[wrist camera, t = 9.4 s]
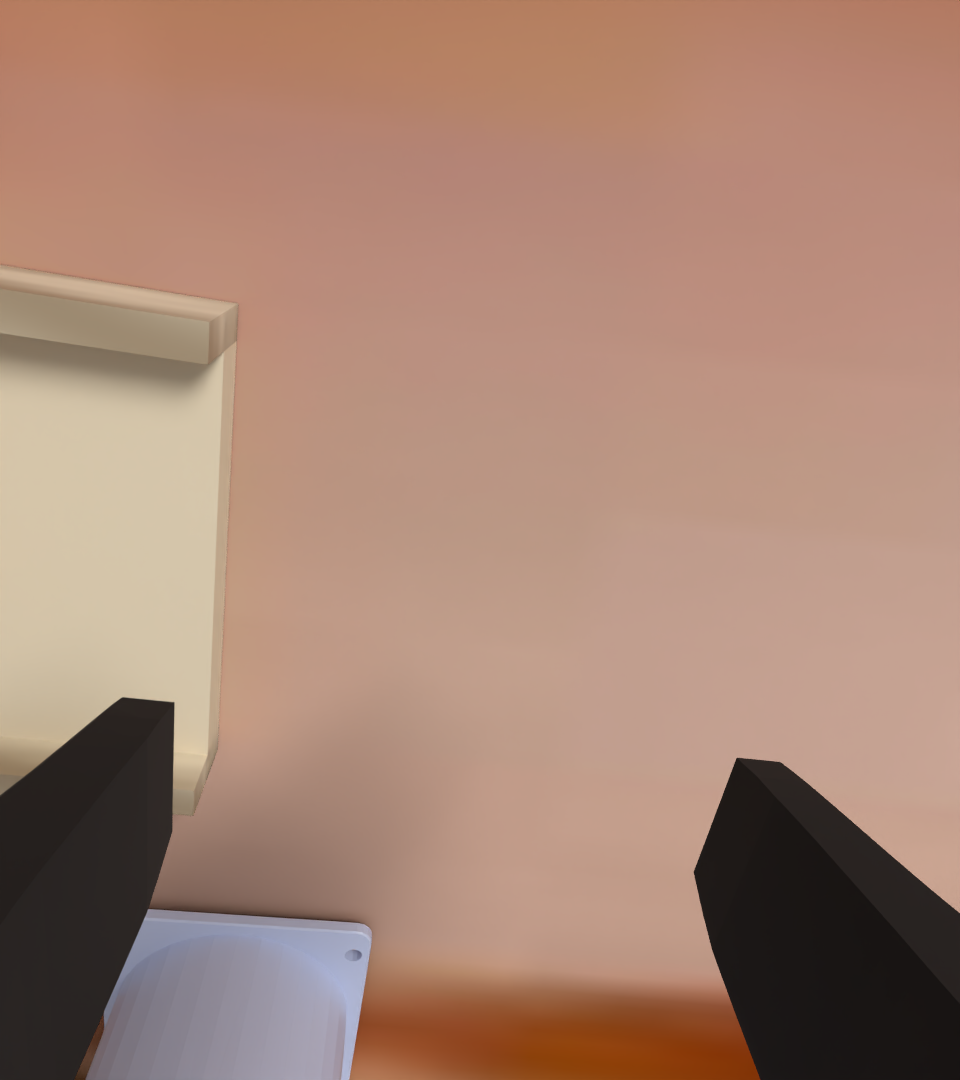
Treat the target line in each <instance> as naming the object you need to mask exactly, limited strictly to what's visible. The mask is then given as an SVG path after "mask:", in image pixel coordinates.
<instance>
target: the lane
mask: <svg viewBox="0 0 960 1080" xmlns="http://www.w3.org/2000/svg"><path fill="white" fill-rule="evenodd" d="M236 343H237V341H236V342H235V343H234V344H232V345H231V346H230V347H229V348H228V349H226V350H225V351H224V352H223V353H222V354H220V355H219V356H218V357H217V358H216V359H214V360H213V361H212V362H211V363H210V364H208V365H206V364H200V363H193V362H186V361H180V360H173V359H167V358H160V357H154V356H147V355H141V354H134V353H128V352H121V351H114V350H108V349H101V348H95V347H88V346H82V345H75V344H69V343H62V342H55V341H49V340H42V339H36V338H29V337H23V336H16V335H10V334H3V333H0V736H2V737H13V738H24V739H35V740H46V741H57V742H67V741H68V740H70V739H71V738H72V737H73V736H74V735H76V734H77V733H78V732H79V731H80V730H82V729H83V728H84V727H85V726H86V725H88V724H89V723H90V722H91V721H92V720H94V719H95V718H96V717H97V716H98V715H100V714H101V713H102V712H103V711H105V710H106V709H107V708H108V707H110V706H111V705H112V704H113V703H115V702H116V701H118V700H119V699H120V698H122V697H126V698H136V699H146V700H156V701H167V702H175V709H174V752H178V753H189V754H200V755H208V757H207V775H208V772H209V770H210V768H211V764H212V763H213V760H214V756H215V755H216V752H217V750H218V730H219V708H220V687H221V665H222V644H223V622H224V601H225V580H226V558H227V537H228V515H229V494H230V472H231V451H232V429H233V408H234V386H235V365H236ZM208 753H209V754H208Z"/></svg>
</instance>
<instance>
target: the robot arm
mask: <svg viewBox="0 0 960 1080" xmlns="http://www.w3.org/2000/svg"><path fill="white" fill-rule="evenodd" d="M174 709H175V702H167V701H156V700H146V699H136V698H126V697H122V698H120V699H119V700H118V701H116V702H115V703H113V704H112V705H111V706H110V707H108V708H107V709H106V710H105V711H103V712H102V713H101V714H100V715H98V716H97V717H96V718H95V719H94V720H92V721H91V722H90V723H89V724H88V725H86V726H85V727H84V728H83V729H82V730H80V731H79V732H78V733H77V734H76V735H74V736H73V737H72V738H71V739H70V740H68V741H67V742H66V743H65V744H64V745H62V746H61V747H60V748H59V749H57V750H56V751H55V752H54V753H53V754H51V755H50V756H49V757H48V758H46V759H45V760H44V761H43V762H42V763H40V764H39V765H38V766H37V767H35V768H34V769H33V770H32V771H30V772H29V773H28V774H27V775H25V776H24V777H23V778H21V779H20V780H19V781H18V782H16V783H15V784H14V785H12V786H11V787H10V788H9V789H7V790H6V791H5V792H4V793H2V794H1V795H0V1080H74V1079H75V1076H76V1074H77V1072H78V1070H79V1067H80V1065H81V1063H82V1060H83V1058H84V1056H85V1054H86V1051H87V1049H88V1047H89V1044H90V1042H91V1040H92V1038H93V1035H94V1033H95V1031H96V1029H97V1026H98V1024H99V1022H100V1020H101V1017H102V1015H103V1013H104V1032H103V1034H102V1037H101V1040H100V1042H99V1045H98V1048H97V1050H96V1053H95V1055H94V1058H93V1061H92V1063H91V1066H90V1069H89V1071H88V1074H87V1077H86V1079H85V1080H349V1077H350V1071H351V1065H352V1059H353V1053H354V1047H355V1041H356V1035H357V1028H358V1022H359V1016H360V1010H361V1004H362V998H363V992H364V986H365V980H366V973H367V967H368V961H369V955H370V949H371V942H372V932H371V930H370V928H369V927H367V926H366V925H364V924H361V923H353V922H338V921H323V920H308V919H293V918H277V917H262V916H247V915H232V914H217V913H202V912H186V911H171V910H156V909H148V908H149V905H150V902H151V898H152V895H153V892H154V889H155V886H156V883H157V880H158V876H159V873H160V870H161V867H162V863H163V860H164V857H165V853H166V850H167V847H168V843H169V840H170V837H171V834H172V815H173V762H174ZM694 875H695V880H696V884H697V889H698V893H699V898H700V902H701V907H702V911H703V916H704V920H705V923H706V927H707V931H708V935H709V939H710V943H711V947H712V950H713V953H714V956H715V959H716V962H717V964H718V967H719V970H720V973H721V976H722V978H723V981H724V984H725V986H726V989H727V992H728V994H729V997H730V1000H731V1003H732V1005H733V1008H734V1011H735V1013H736V1016H737V1019H738V1021H739V1024H740V1027H741V1029H742V1032H743V1035H744V1037H745V1040H746V1042H747V1045H748V1048H749V1050H750V1053H751V1056H752V1058H753V1061H754V1063H755V1066H756V1069H757V1071H758V1074H759V1077H760V1079H761V1080H960V913H959V912H957V911H956V910H955V909H954V908H953V907H951V906H950V905H949V904H948V903H946V902H945V901H944V900H943V899H942V898H940V897H939V896H938V895H937V894H936V893H934V892H933V891H932V890H931V889H930V888H928V887H927V886H926V885H925V884H924V883H923V882H921V881H920V880H919V879H918V878H917V877H915V876H914V875H913V874H912V873H911V872H910V871H908V870H907V869H906V868H905V867H904V866H903V865H901V864H900V863H899V862H898V861H897V860H896V859H894V858H893V857H892V856H891V855H890V854H889V853H887V852H886V851H885V850H884V849H883V848H882V847H881V846H879V845H878V844H877V843H876V842H875V841H874V840H872V839H871V838H870V837H869V836H868V835H867V834H866V833H864V832H863V831H862V830H861V829H860V828H859V827H858V826H856V825H855V824H854V823H853V822H852V821H851V820H849V819H848V818H847V817H846V816H845V815H844V814H843V813H841V812H840V811H839V810H838V809H837V808H836V807H835V806H833V805H832V804H831V803H830V802H829V801H828V800H826V799H825V798H824V797H823V796H822V795H820V794H819V793H818V792H817V791H816V790H815V789H813V788H812V787H811V786H810V785H809V784H807V783H806V782H805V781H804V780H803V779H801V778H800V777H799V776H798V775H796V774H795V773H794V772H792V771H791V770H790V769H789V768H787V767H786V766H785V765H783V764H782V763H781V762H774V761H764V760H754V759H744V758H737V759H736V761H735V764H734V767H733V769H732V772H731V775H730V777H729V780H728V783H727V785H726V788H725V791H724V793H723V796H722V799H721V801H720V804H719V806H718V809H717V812H716V814H715V817H714V820H713V822H712V825H711V828H710V830H709V833H708V836H707V838H706V841H705V844H704V846H703V849H702V852H701V854H700V857H699V860H698V862H697V865H696V868H695V870H694Z"/></svg>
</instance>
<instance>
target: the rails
mask: <svg viewBox="0 0 960 1080" xmlns="http://www.w3.org/2000/svg"><path fill="white" fill-rule="evenodd" d="M237 322H238V303H232V302H226V301H219V300H213V299H207V298H201V297H195V296H189V295H183V294H177V293H170V292H164V291H158V290H152V289H146V288H140V287H134V286H127V285H121V284H115V283H109V282H103V281H97V280H91V279H85V278H78V277H72V276H66V275H60V274H54V273H48V272H42V271H35V270H29V269H23V268H17V267H11V266H5V265H0V333H3V334H10V335H16V336H23V337H29V338H36V339H42V340H49V341H55V342H62V343H69V344H75V345H82V346H88V347H95V348H101V349H108V350H114V351H121V352H128V353H134V354H141V355H147V356H154V357H160V358H167V359H173V360H180V361H186V362H193V363H200V364H206V365H208V364H210V363H211V362H212V361H213V360H214V359H216V358H217V357H218V356H219V355H220V354H222V353H223V352H224V351H225V350H226V349H228V348H229V347H230V346H231V345H232V344H234V343H235V342H236V341H237ZM65 743H66V742H57V741H46V740H35V739H24V738H13V737H2V736H0V795H1V794H2V793H4V792H5V791H6V790H7V789H9V788H10V787H11V786H12V785H14V784H15V783H16V782H18V781H19V780H20V779H21V778H23V777H24V776H25V775H27V774H28V773H29V772H30V771H32V770H33V769H34V768H35V767H37V766H38V765H39V764H40V763H42V762H43V761H44V760H45V759H46V758H48V757H49V756H50V755H51V754H53V753H54V752H55V751H56V750H57V749H59V748H60V747H61V746H62V745H64V744H65ZM208 754H209V753H208ZM207 757H208V755H200V754H189V753H178V752H174V762H173V814H176V815H188V816H193V815H194V813H195V810H196V807H197V804H198V802H199V799H200V796H201V793H202V791H203V788H204V785H205V783H206V780H207V777H208V775H207ZM214 758H215V756H214ZM213 761H214V760H213ZM211 766H212V764H211ZM210 769H211V768H210ZM209 772H210V770H209ZM209 772H208V774H209Z"/></svg>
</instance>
